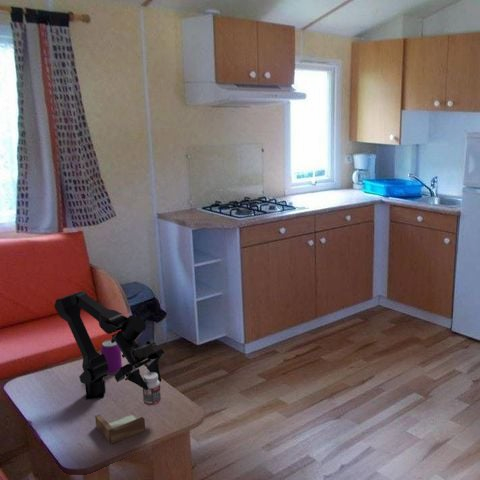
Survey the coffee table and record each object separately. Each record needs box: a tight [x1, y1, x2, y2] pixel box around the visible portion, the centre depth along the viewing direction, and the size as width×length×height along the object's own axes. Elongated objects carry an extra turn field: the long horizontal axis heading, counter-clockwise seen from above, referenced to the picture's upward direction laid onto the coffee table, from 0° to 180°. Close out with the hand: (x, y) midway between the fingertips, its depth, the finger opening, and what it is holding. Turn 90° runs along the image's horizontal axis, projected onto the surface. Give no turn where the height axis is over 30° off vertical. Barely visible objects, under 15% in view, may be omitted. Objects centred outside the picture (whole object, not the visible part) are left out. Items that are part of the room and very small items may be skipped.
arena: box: [94, 414, 146, 445], centre depth 172 cm, size 12×12×4 cm
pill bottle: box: [142, 371, 162, 407], centre depth 174 cm, size 6×6×10 cm
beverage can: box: [100, 339, 123, 375], centre depth 210 cm, size 8×8×12 cm
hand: (154, 385), depth 173 cm, fingers closed on pill bottle, 6 cm apart
